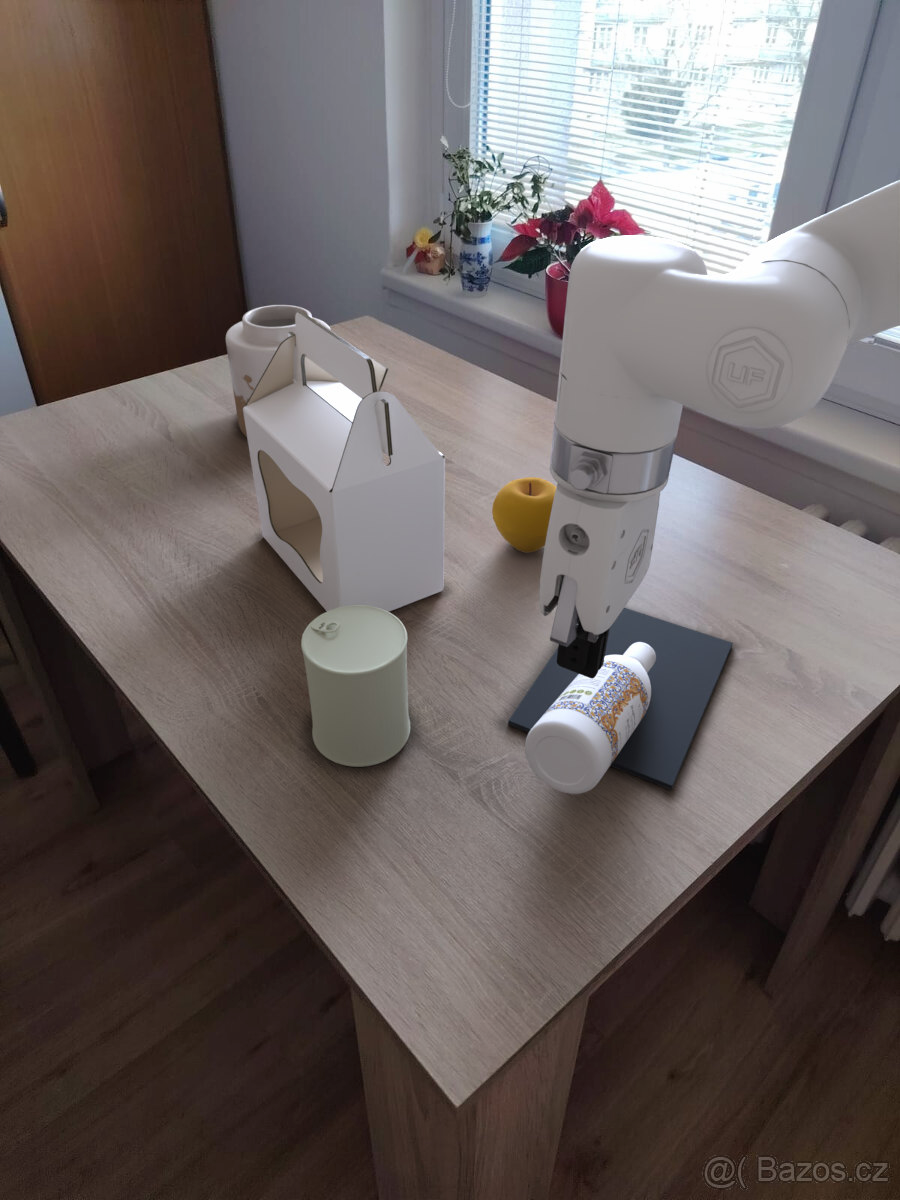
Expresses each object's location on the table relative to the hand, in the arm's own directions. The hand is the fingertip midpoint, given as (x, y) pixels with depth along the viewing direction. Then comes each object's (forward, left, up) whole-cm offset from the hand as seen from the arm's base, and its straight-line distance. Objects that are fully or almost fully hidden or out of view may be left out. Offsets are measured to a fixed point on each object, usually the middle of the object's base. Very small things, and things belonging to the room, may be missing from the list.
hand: (579, 665), depth 63 cm
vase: (+78, +13, -15) cm, 81 cm away
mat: (+11, -12, -15) cm, 22 cm away
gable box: (+39, +11, -15) cm, 43 cm away
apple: (+37, -11, -15) cm, 41 cm away
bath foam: (-1, +1, -9) cm, 9 cm away
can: (+12, +15, -15) cm, 25 cm away
